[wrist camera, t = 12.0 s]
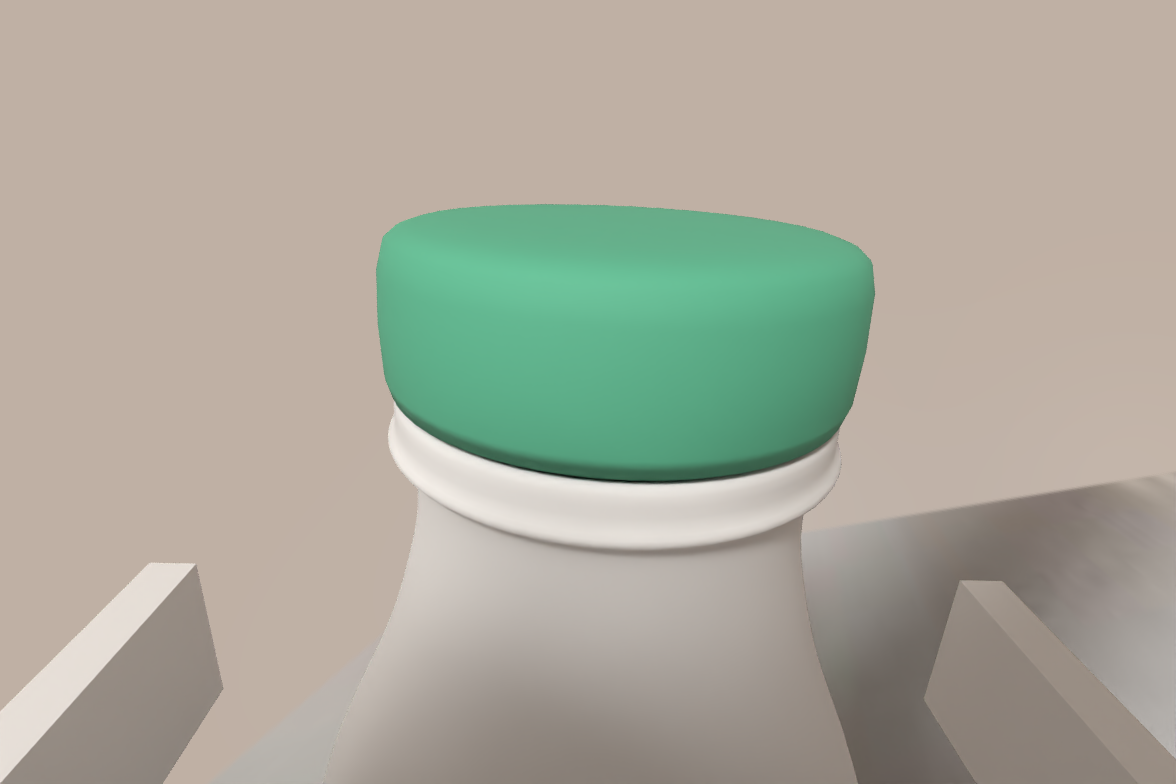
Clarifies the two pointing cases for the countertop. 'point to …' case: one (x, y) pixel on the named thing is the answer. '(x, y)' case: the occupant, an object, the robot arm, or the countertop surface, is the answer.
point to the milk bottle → (608, 497)
